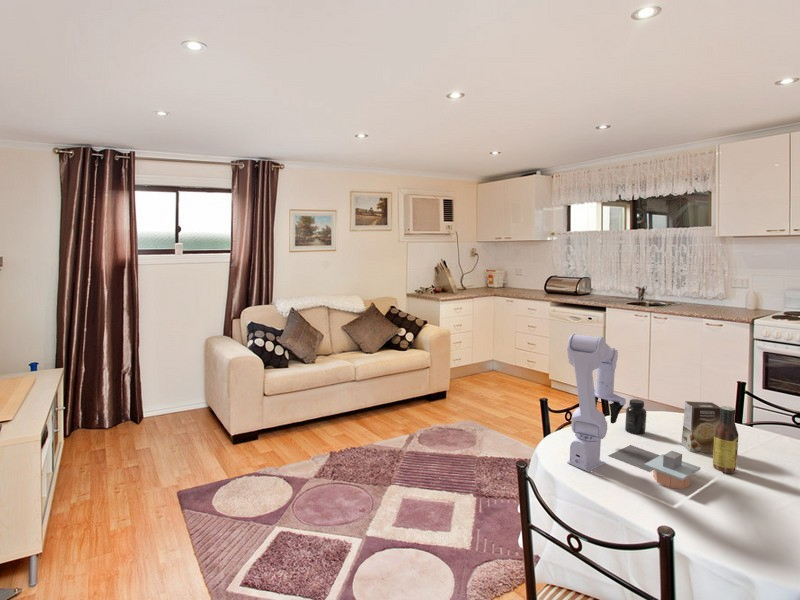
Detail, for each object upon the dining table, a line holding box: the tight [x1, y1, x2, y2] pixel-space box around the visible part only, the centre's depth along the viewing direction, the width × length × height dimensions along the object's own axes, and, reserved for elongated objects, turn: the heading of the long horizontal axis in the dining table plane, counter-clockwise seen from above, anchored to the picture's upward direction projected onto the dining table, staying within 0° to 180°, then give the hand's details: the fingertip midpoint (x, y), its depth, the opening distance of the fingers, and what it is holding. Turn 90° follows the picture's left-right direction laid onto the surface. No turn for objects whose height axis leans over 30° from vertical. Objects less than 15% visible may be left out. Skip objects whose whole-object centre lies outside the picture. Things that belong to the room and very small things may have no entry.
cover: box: [644, 450, 701, 481], centre depth 147 cm, size 11×11×4 cm
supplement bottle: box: [624, 398, 647, 436], centre depth 184 cm, size 7×7×12 cm
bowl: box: [652, 469, 691, 489], centre depth 148 cm, size 9×9×4 cm
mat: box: [607, 444, 660, 473], centre depth 163 cm, size 14×14×1 cm
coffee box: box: [680, 400, 721, 455], centre depth 168 cm, size 9×6×16 cm
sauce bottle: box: [712, 405, 739, 474], centre depth 154 cm, size 6×6×20 cm
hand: (603, 419), depth 172 cm, fingers open, 7 cm apart
